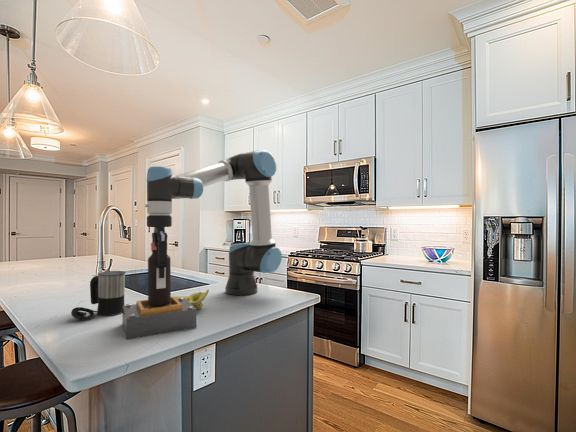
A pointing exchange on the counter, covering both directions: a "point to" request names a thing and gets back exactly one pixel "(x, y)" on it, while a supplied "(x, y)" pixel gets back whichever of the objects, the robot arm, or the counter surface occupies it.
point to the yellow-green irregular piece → (195, 299)
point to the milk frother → (104, 295)
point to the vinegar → (155, 295)
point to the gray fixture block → (158, 318)
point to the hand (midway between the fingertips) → (159, 286)
